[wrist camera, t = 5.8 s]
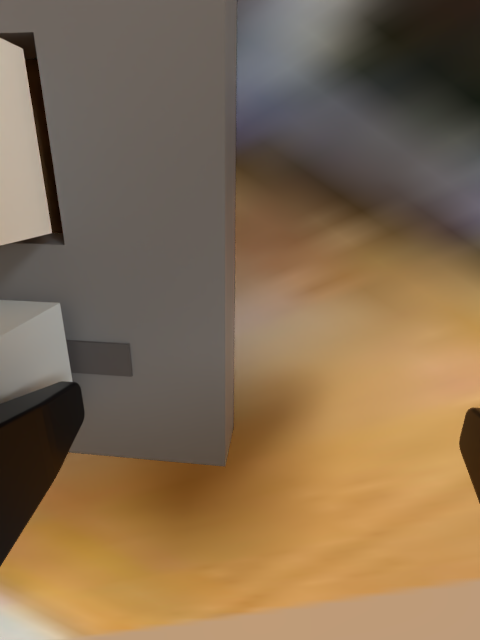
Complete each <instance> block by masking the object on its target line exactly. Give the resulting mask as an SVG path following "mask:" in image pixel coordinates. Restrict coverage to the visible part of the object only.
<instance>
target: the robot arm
mask: <svg viewBox="0 0 480 640" xmlns="http://www.w3.org/2000/svg"><path fill="white" fill-rule="evenodd" d="M84 416H85V410H84V404H83V398H82V391H81V387H80V385H79V384H78V383H77V382H66V381H61V382H58V383H55V384H52V385H50V386H47V387H44V388H41V389H39V390H36V391H33V392H31V393H28V394H25V395H22V396H20V397H17V398H14V399H12V400H9V401H6V402H3V403H1V404H0V566H1V565H2V563H3V561H4V560H5V558H6V557H7V555H8V553H9V552H10V550H11V549H12V547H13V545H14V544H15V542H16V541H17V539H18V537H19V536H20V534H21V533H22V531H23V529H24V528H25V526H26V525H27V523H28V521H29V520H30V518H31V517H32V515H33V513H34V512H35V510H36V509H37V507H38V505H39V504H40V502H41V501H42V499H43V497H44V496H45V494H46V493H47V491H48V489H49V488H50V486H51V484H52V483H53V481H54V479H55V478H56V476H57V474H58V472H59V470H60V468H61V466H62V464H63V462H64V460H65V458H66V456H67V454H68V452H69V450H70V448H71V446H72V444H73V442H74V440H75V438H76V436H77V434H78V432H79V430H80V428H81V425H82V423H83V421H84ZM459 445H460V450H461V453H462V456H463V459H464V462H465V464H466V467H467V470H468V473H469V475H470V478H471V481H472V484H473V486H474V489H475V492H476V495H477V497H478V500H479V503H480V408H470V409H469V410H468V411H467V413H466V416H465V420H464V424H463V428H462V432H461V436H460V441H459Z"/></svg>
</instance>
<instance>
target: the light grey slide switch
mask: <svg viewBox="0 0 480 640" xmlns="http://www.w3.org/2000/svg"><path fill="white" fill-rule="evenodd" d="M61 381H66V382H73V381H72V375H71V369H70V362H69V356H68V350H67V344H66V338H65V331H64V325H63V319H62V313H61V306H60V303H54V302H34V301H13V300H0V404H1V403H3V402H6V401H9V400H12V399H14V398H17V397H20V396H22V395H25V394H28V393H31V392H33V391H36V390H39V389H41V388H44V387H47V386H50V385H52V384H55V383H58V382H61Z"/></svg>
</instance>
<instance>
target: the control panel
mask: <svg viewBox="0 0 480 640" xmlns="http://www.w3.org/2000/svg"><path fill="white" fill-rule="evenodd" d="M0 38H2V39H4V40H6V41H8V42H10V43H12V44H14V45H16V46H18V47H20V48H22V49H23V52H24V58H25V59H37V60H38V67H39V73H40V80H41V87H42V94H43V100H44V107H45V114H46V121H47V128H48V134H49V141H50V148H51V155H52V161H53V168H54V175H55V182H56V188H57V195H58V202H59V209H60V216H61V222H62V229H63V233H50V234H46V235H42V236H38V237H34V238H30V239H25V240H21V241H17V242H13V243H9V244H5V245H1V246H0V300H13V301H34V302H54V303H60V306H61V313H62V319H63V325H64V331H65V338H66V344H67V350H68V356H69V362H70V369H71V375H72V381H73V382H77V383H78V384H79V385H80V387H81V391H82V398H83V404H84V410H85V416H84V421H83V423H82V425H81V428H80V430H79V432H78V434H77V436H76V438H75V440H74V442H73V444H72V446H71V448H70V450H69V452H71V453H82V454H93V455H104V456H115V457H126V458H137V459H148V460H159V461H170V462H181V463H192V464H203V465H214V466H226V461H227V456H228V451H229V447H230V442H231V437H232V432H233V427H234V311H235V190H236V68H237V0H0Z"/></svg>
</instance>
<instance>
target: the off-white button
mask: <svg viewBox="0 0 480 640" xmlns="http://www.w3.org/2000/svg"><path fill="white" fill-rule="evenodd" d="M50 233H52V229H51V223H50V217H49V210H48V204H47V198H46V191H45V185H44V179H43V172H42V166H41V160H40V153H39V147H38V141H37V134H36V128H35V122H34V115H33V109H32V102H31V96H30V90H29V83H28V77H27V71H26V64H25V58H24V52H23V49H22V48H20V47H18V46H16V45H14V44H12V43H10V42H8V41H6V40H4V39H2V38H0V246H1V245H5V244H9V243H13V242H17V241H21V240H25V239H30V238H34V237H38V236H42V235H46V234H50Z"/></svg>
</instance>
